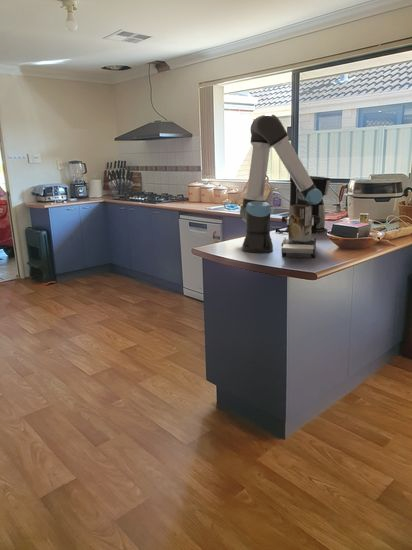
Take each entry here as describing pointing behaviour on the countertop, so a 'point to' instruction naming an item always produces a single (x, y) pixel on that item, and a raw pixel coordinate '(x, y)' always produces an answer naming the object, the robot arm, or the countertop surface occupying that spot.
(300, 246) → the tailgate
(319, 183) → the coffee maker
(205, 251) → the countertop surface
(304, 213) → the coffee box
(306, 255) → the bed
